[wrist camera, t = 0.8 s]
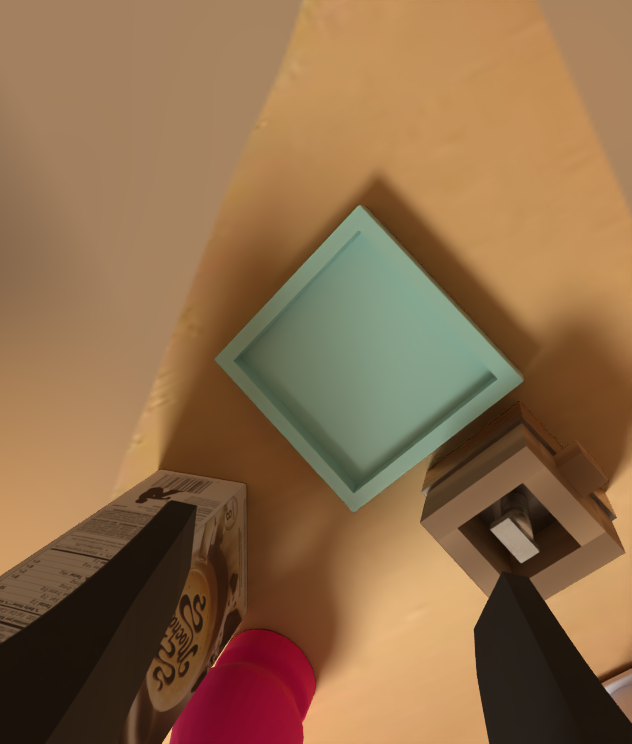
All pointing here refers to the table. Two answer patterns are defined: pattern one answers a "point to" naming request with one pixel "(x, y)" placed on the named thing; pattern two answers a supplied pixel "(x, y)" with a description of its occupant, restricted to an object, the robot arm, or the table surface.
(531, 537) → the block
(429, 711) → the table surface
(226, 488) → the coffee box
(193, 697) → the pepper mill
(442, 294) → the tray
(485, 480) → the ring
